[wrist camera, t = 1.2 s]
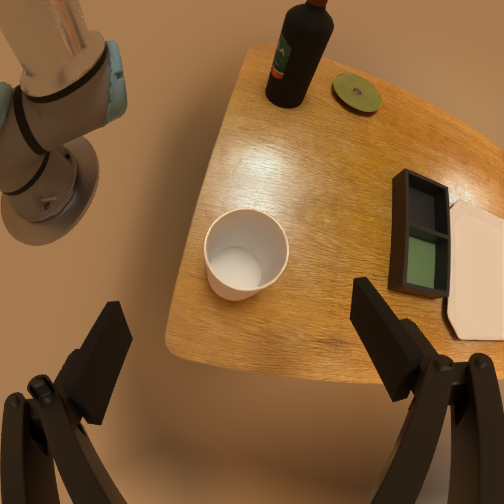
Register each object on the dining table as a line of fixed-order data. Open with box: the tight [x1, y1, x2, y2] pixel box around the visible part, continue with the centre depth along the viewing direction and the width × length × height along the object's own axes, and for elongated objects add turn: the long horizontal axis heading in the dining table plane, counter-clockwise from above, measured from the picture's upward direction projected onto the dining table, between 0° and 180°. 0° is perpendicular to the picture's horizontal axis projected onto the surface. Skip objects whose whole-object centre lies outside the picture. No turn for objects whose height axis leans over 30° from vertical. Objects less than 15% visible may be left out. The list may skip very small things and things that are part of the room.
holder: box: [388, 169, 451, 299], centre depth 47 cm, size 11×21×5 cm, turn 169°
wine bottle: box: [265, 0, 334, 108], centre depth 38 cm, size 8×8×30 cm
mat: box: [333, 74, 381, 112], centre depth 54 cm, size 11×11×2 cm
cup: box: [204, 208, 289, 301], centre depth 36 cm, size 8×8×16 cm
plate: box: [446, 200, 504, 340], centre depth 50 cm, size 29×29×2 cm
